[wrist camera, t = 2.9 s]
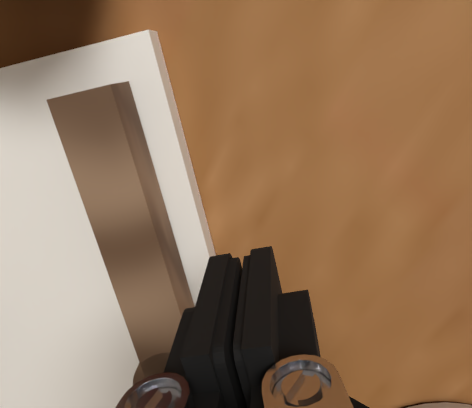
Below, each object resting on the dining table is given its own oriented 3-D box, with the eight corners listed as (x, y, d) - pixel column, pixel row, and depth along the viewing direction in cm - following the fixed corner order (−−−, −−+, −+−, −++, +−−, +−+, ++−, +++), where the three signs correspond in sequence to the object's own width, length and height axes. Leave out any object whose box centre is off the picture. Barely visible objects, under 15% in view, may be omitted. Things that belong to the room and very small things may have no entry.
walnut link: (232, 386, 26) (223, 455, 21) (158, 395, 26) (134, 463, 22) (146, 76, 20) (109, 82, 16) (54, 99, 21) (-6, 110, 16)
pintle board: (249, 384, 28) (248, 402, 26) (-43, 418, 31) (-58, 436, 30) (156, 31, 21) (148, 29, 20) (-202, 124, 24) (-232, 128, 23)
